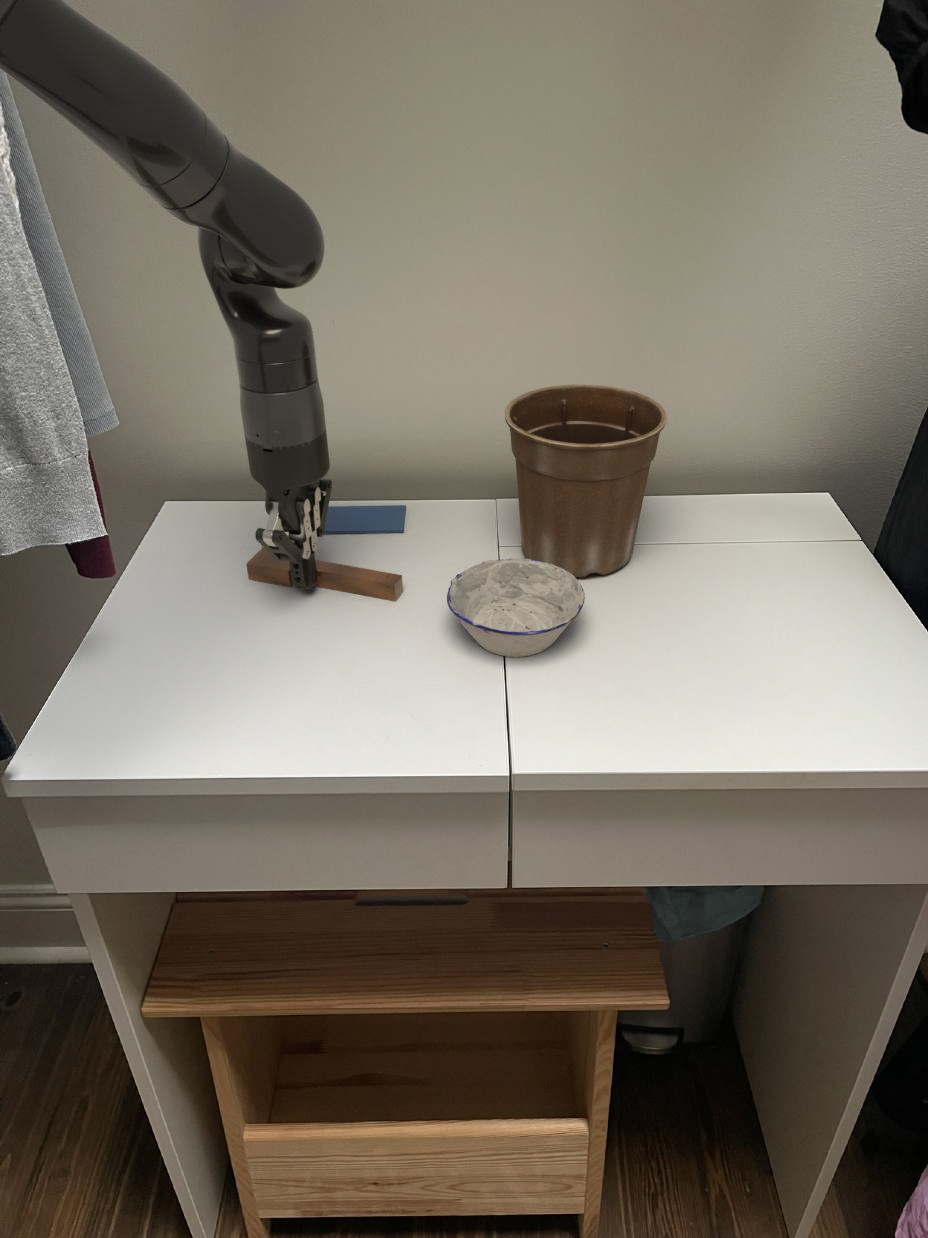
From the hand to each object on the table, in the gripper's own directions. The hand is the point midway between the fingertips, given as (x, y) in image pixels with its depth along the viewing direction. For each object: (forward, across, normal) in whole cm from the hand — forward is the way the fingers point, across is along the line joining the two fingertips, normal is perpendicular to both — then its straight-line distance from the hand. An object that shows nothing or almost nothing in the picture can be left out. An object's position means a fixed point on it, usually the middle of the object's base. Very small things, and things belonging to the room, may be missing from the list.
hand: (305, 584), depth 97 cm
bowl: (+1, +1, +22) cm, 23 cm away
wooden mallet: (+1, -2, +1) cm, 3 cm away
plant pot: (+1, -16, +25) cm, 30 cm away
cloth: (+1, -16, 0) cm, 16 cm away
